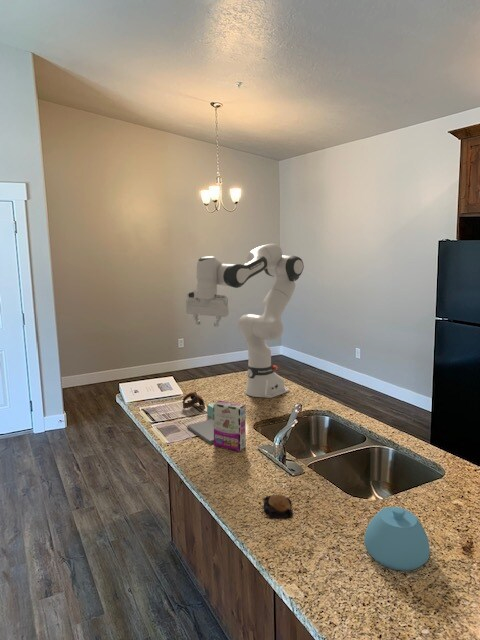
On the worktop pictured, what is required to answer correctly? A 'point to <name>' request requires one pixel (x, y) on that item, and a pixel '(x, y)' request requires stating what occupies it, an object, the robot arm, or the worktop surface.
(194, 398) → the brown arched frame
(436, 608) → the worktop surface
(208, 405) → the teal block
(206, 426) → the slate board
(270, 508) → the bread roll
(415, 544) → the sugar bowl
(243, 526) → the worktop surface
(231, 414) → the candy bar box
